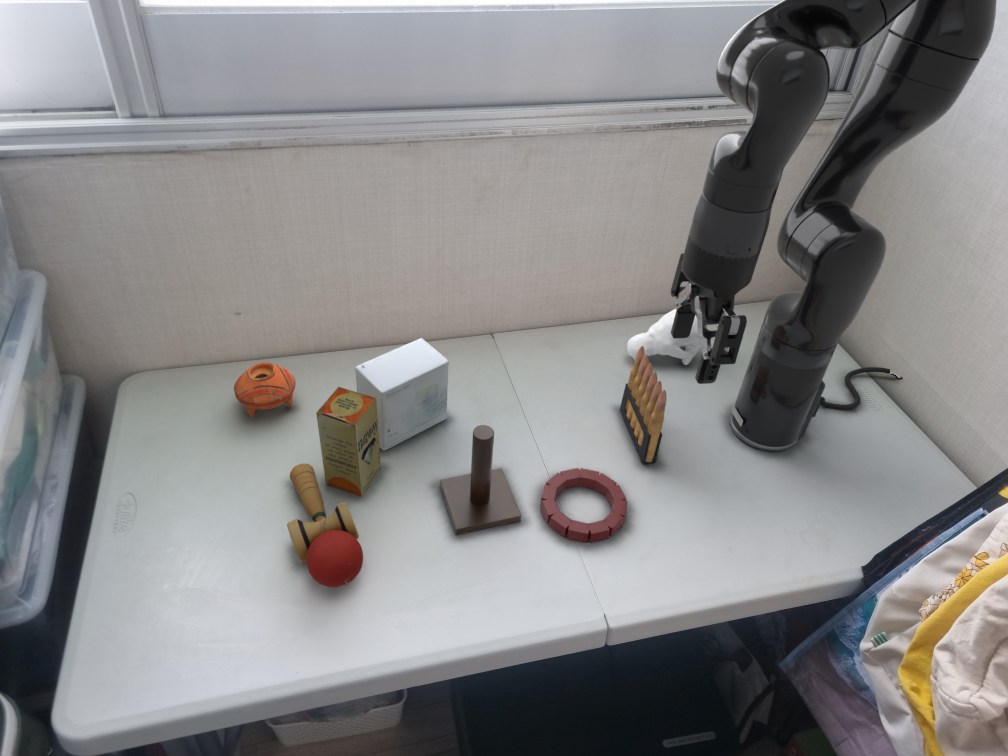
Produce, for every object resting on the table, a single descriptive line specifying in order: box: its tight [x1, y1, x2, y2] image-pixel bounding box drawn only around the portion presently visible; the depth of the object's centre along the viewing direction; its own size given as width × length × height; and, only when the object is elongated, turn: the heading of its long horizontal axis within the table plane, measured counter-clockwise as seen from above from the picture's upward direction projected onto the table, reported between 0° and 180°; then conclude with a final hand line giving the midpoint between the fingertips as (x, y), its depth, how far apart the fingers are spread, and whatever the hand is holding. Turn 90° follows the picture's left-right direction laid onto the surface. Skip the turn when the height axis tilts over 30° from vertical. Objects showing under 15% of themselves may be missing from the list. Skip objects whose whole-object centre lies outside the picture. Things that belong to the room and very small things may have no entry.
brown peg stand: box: [439, 424, 522, 536], centre depth 90 cm, size 8×8×12 cm
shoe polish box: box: [316, 386, 382, 498], centre depth 92 cm, size 5×5×12 cm
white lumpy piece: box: [626, 308, 708, 366], centre depth 115 cm, size 6×8×12 cm
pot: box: [233, 362, 296, 417], centre depth 103 cm, size 8×8×7 cm
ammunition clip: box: [619, 346, 667, 465], centre depth 100 cm, size 11×2×12 cm, turn 10°
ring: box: [540, 467, 628, 543], centre depth 93 cm, size 10×10×2 cm
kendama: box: [286, 463, 364, 588], centre depth 87 cm, size 8×6×18 cm
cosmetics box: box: [354, 337, 450, 452], centre depth 100 cm, size 10×6×10 cm, turn 131°
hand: (691, 358), depth 90 cm, fingers open, 8 cm apart
